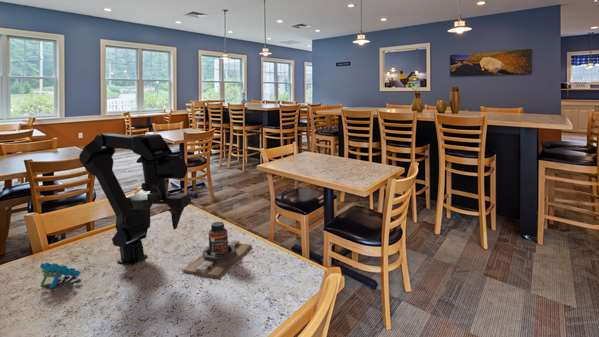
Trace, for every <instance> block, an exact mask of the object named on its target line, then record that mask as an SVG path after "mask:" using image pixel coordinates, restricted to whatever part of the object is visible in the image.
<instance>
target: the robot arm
mask: <svg viewBox="0 0 599 337" xmlns="http://www.w3.org/2000/svg"><path fill="white" fill-rule="evenodd" d="M116 149H122V150H130V151H131V152H133V153H134V154H136V155H139V158H137V159H136V163H137V164H141V165H142V172H143V180H144V182H142V183H141V189H140V190H139V191H138V192H136V193H135V194H133V195H131V196H128V197H127V196H126V194H125V191H124V189H123V188H122V186H121V184H120V182H119V180H118V178H117V176H116V174H115V172H114V171H113V168H114V162H115V161H114V159H113V156H114V154H115V153H116ZM78 159H79V162H80V164H82V166H83V167H84V169H85V171H87V172H88V173H90V174H91V175H93V176H94V177H96V180H97V182H98V183H99V185H100V188H101V189H102V191H103V193H104V195H105V197H106V199H107V201H108V203H109V205H110V206H111V209H112V211H113V212H114V214H115V217H116V220H115V229H116V230H115V231H116V233H115V234H114V235H113V236H112V238H111V241H112V243H113V246H115V247H119V253H120V258H119V259H118V260H116V261H117V263H119V264H126V265H129V266H130V265H131V266H132V265H135V264H137V263H138V262H141V261H142V260H144V259H146V258H147V257H148V254H147V253H146V254H145V253H144V246H143V240H144V239H146V238H147V234H148V230H149V229H150V228H151V208H152V205H167V206H168V207H169V208H168V209H167V210H168V212H169V213H170V215H171V224H172V228H173V230H176V229H177V228H178V225H179V223H180V222H179V221H180V219H181V216H182V214H183V211H184V209H185V208H186V207H188V206H189V205H190V204H192V198H191V196H190V195H189V194H187V193H186V194H184V193H183V194H182V193H181V194H180V193H178V194H176V195H172V197H170V196H171V192H170V191H169V192H168V186H167V184H168V183H169V182H170V181H169V179H170V180H172V179H173V180H182V179H184V178H185V177H186V176H187V173H188V164H187V163H186V161H185V160H184V159H182V157H181V155H180V154H174V152H173V151H172V149H171V148H170V147H169V145H168V143H167V142H166V141H165V139H164V138H163V136H162V135H161V134H159V133H153V134H143V135H128V134H122V133H121V134H119V133H114V132H105V133H98V134H96V135H95V137H94V139H93V140H91V141H90V142H89V143H87V144H86V145H85V146H84V147H83V148H82V150H81V152H80V153H79V157H78Z"/></svg>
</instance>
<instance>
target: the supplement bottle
mask: <svg viewBox="0 0 599 337" xmlns="http://www.w3.org/2000/svg"><path fill="white" fill-rule="evenodd" d="M210 226H211V229H209V231H208V247H209V254H210V256H216V257H218V256H223V255H228V242H229V239H228V237H229V236H228V230H227V228H226V227H225V223H224V222H223V221H214V222H212V223H211V224H210Z"/></svg>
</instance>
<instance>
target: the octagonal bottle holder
mask: <svg viewBox="0 0 599 337" xmlns="http://www.w3.org/2000/svg"><path fill="white" fill-rule="evenodd" d="M252 247H253V246H252V244H247V243H241V242H240V240H236V239H235V240H234V239H232V240H230V241H228V255H223V256H218V257H216V256H210V254H209V246H208V247H207V248H205V249H203V250H202V251H201V252H202V254H201V255H200V256H199V257H198V258H196V259H195V260H193V261H192V262H190V264H188V265H187V266H185V267H184V268H183V269H182V272H183V273H185V274H192V275H198V276H202V277H203V276H204V277H208V278H214V279H219V278H220V277H221V276H222V275H223V274H224V273H225V272H226V271H228V269H230V268H231V267H232V266H233V265H234V264H235V263H236V262H238V260H239V259H240V258H242V256H244V255H245V254H246V253H247V252H248V251H249V250H250V249H251V248H252Z"/></svg>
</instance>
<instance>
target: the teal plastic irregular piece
mask: <svg viewBox="0 0 599 337" xmlns="http://www.w3.org/2000/svg"><path fill="white" fill-rule="evenodd" d="M39 267H40V270H41V269H42V270H41V273H42V277H43V278H42V280H41V282H40V285H42V286H44V284H45V282H46V280H47V278H53V281H52V282H51V284H50V286H49V288H50V289H55V287H56V285H57V283H58V282H59V279H60V278H62V276H66V277H73V278H74V277H80V274H81V271H80V270H76V268H74V267H70V268H69V267H68V266H66V265H59V264H57V263H52V264H51V263H49V262H45V263H42V262H41V264H40V266H39Z"/></svg>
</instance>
